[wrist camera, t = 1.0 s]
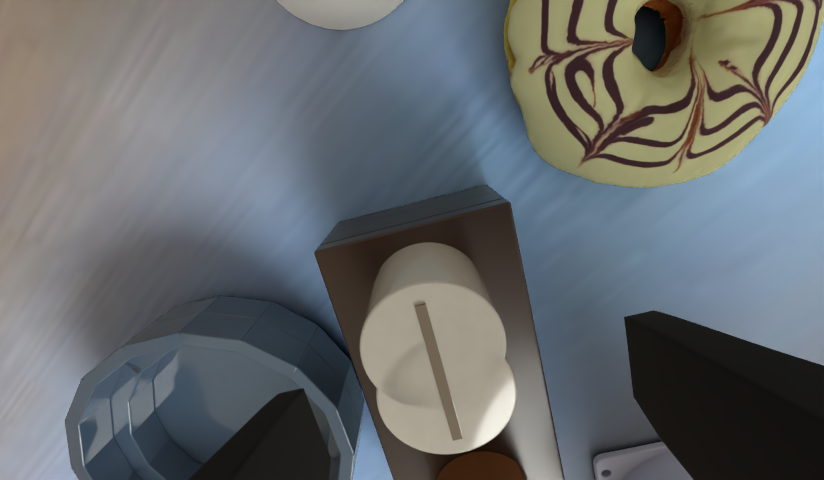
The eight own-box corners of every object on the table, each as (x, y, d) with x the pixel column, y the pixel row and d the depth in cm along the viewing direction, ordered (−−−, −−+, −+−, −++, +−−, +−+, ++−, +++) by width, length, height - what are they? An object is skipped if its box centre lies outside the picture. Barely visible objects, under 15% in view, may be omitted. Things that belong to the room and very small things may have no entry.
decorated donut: (511, 199, 17) (536, 218, 14) (476, -76, 15) (495, -144, 11) (750, 154, 17) (842, 161, 13) (763, -144, 14) (886, -241, 10)
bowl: (390, 464, 22) (385, 537, 18) (190, 506, 23) (144, 583, 19) (321, 266, 18) (297, 303, 15) (90, 324, 19) (10, 373, 15)
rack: (544, 461, 22) (577, 544, 17) (423, 485, 22) (425, 572, 18) (486, 183, 17) (510, 201, 13) (337, 222, 18) (312, 252, 13)
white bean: (502, 366, 15) (530, 442, 11) (401, 389, 15) (396, 469, 11) (470, 229, 13) (491, 265, 10) (358, 257, 14) (339, 302, 10)
